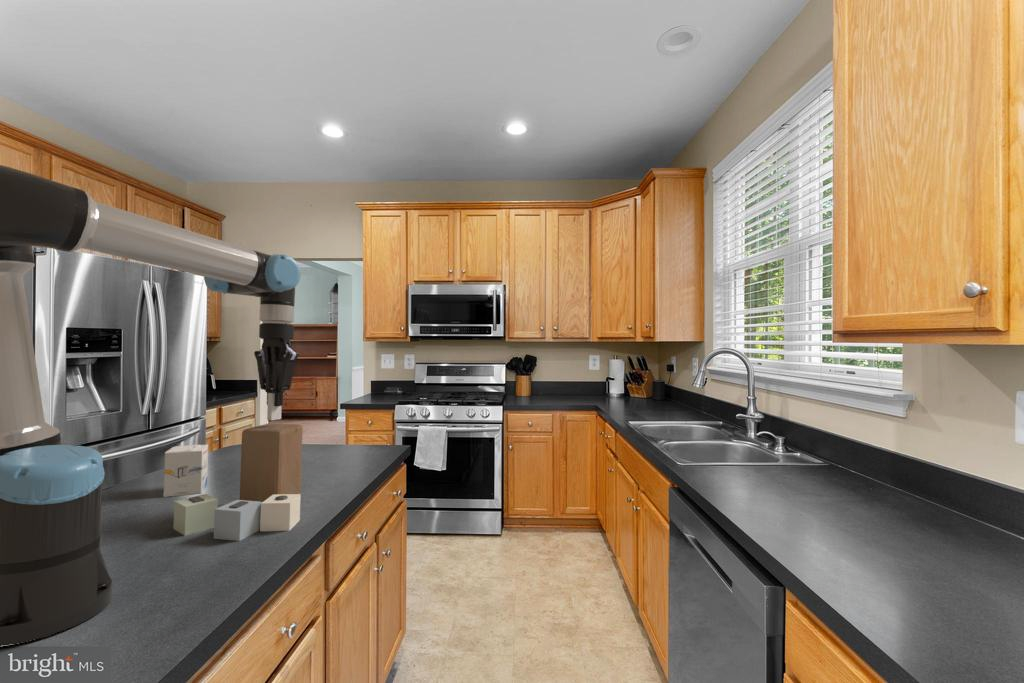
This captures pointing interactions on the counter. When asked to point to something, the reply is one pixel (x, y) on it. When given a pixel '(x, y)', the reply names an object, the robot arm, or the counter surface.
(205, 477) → the ink box
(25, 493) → the robot arm
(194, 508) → the marked cube sage
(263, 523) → the marked cube cream
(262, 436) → the wooden block
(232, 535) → the marked cube slate
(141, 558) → the counter surface
